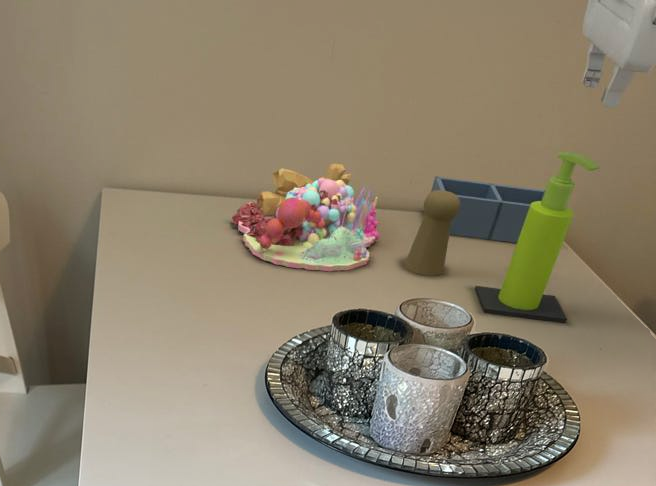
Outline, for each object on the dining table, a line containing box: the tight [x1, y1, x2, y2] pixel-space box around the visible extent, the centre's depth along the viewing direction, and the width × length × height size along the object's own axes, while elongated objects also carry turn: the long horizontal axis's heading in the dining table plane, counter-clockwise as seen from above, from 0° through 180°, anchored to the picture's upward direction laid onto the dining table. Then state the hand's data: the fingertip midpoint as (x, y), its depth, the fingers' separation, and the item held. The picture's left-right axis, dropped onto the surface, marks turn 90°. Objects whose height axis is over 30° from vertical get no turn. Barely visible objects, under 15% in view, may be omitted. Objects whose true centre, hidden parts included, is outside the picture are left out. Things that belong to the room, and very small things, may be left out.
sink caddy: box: [430, 175, 546, 244], centre depth 154 cm, size 19×9×6 cm, turn 86°
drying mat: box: [474, 285, 568, 324], centre depth 134 cm, size 12×8×1 cm, turn 86°
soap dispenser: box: [498, 151, 601, 310], centre depth 127 cm, size 6×7×20 cm
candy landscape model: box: [231, 163, 380, 272], centre depth 142 cm, size 25×24×9 cm
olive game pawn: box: [404, 190, 460, 277], centre depth 137 cm, size 6×6×11 cm
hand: (598, 95), depth 115 cm, fingers open, 8 cm apart
